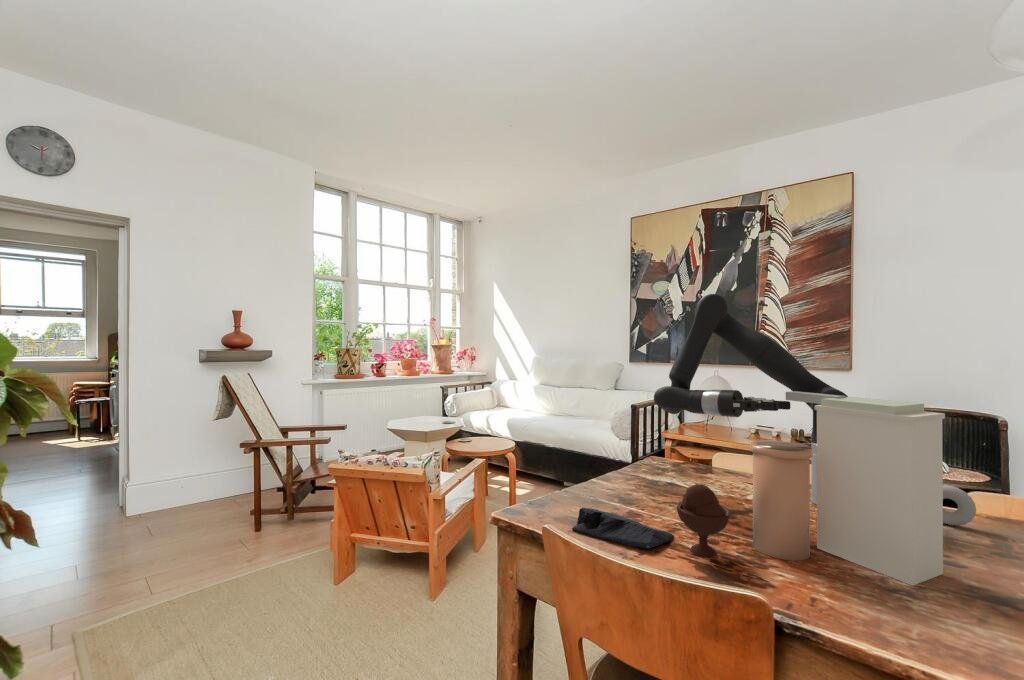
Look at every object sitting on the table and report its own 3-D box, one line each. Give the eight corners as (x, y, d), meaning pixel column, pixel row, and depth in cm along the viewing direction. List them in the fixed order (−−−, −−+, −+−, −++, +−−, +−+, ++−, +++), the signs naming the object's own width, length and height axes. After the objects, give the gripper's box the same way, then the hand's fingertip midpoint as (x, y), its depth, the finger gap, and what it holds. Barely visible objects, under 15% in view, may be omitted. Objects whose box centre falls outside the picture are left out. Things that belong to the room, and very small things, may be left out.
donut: (977, 529, 117) (977, 488, 117) (975, 532, 115) (975, 491, 115) (924, 517, 125) (924, 479, 125) (922, 520, 123) (921, 482, 123)
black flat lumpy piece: (647, 560, 100) (647, 537, 100) (566, 530, 116) (566, 511, 116) (679, 539, 111) (679, 519, 111) (601, 515, 127) (601, 497, 127)
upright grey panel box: (846, 539, 111) (846, 402, 111) (945, 574, 94) (945, 413, 94) (814, 547, 106) (814, 405, 106) (913, 586, 89) (913, 417, 89)
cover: (804, 398, 120) (804, 390, 120) (924, 411, 97) (924, 401, 97) (775, 400, 115) (775, 392, 115) (893, 414, 92) (893, 404, 92)
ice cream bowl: (737, 565, 97) (737, 492, 97) (680, 560, 99) (680, 489, 99) (724, 544, 107) (724, 478, 108) (673, 540, 110) (673, 475, 110)
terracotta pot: (773, 534, 113) (773, 438, 113) (825, 555, 102) (824, 448, 102) (738, 543, 108) (738, 442, 108) (788, 565, 97) (788, 453, 97)
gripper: (710, 390, 130) (773, 392, 118) (732, 389, 140) (793, 391, 128) (710, 417, 130) (774, 422, 118) (733, 414, 139) (794, 419, 127)
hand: (784, 406), depth 123 cm, fingers open, 8 cm apart
